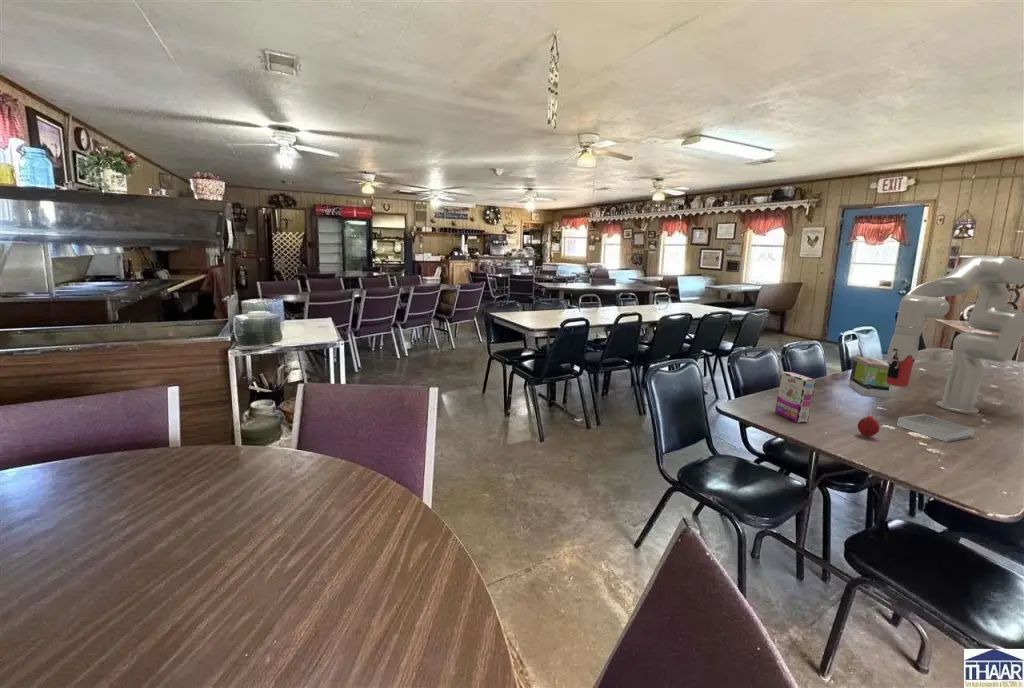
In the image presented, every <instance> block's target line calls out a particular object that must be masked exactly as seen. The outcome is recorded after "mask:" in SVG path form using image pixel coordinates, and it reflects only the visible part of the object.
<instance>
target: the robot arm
mask: <svg viewBox="0 0 1024 688" xmlns="http://www.w3.org/2000/svg"><path fill="white" fill-rule="evenodd" d="M976 284H977V287H978V291H979V293H978V296H977V299H976V301H975V304H974V306H973V309H972V310H971V313H970V316H969V318H968V326H969V327H970V328H971V329H974V330H979V331H982V332H990V333H995V334H999V336H995V335H990V334H983V333H979V332H970V331H968V332H963V333H962V332H961V333H959V334H957V335H956V336H955V337H954V339H953V343H952V359H951V365H950V368H949V369H950V370H949V372H948V376H947V379H946V384H945V387H944V393H943V396H942V400H938V401H936V406H937V407H939V408H941V409H944V410H948V411H951V412H955V413H962V414H970V415H974V414H978V413H979V408H977V407H975V405H976V404H979V400H978V399H977V398H978V393H979V389H980V386H981V382H982V379H983V375H984V370H985V368H984V364H983V362H982V361H981V360H986V361H990V362H996V363H1005V362H1009V361H1010V360H1011V359H1012V358H1013V357H1014V355H1015V353H1016V351H1017V349H1018V347H1019V345H1020V342H1021V341H1022V338H1023V335H1024V312H1023V311H1021V310H1018V309H1011V308H1010V309H1009V308H1006V307H1007V305H1008V303H1009V300H1010V298H1011V297H1010V295H1011V294H1010V292H1009V289H1008V288H1007V287H1006V286H1005V285H1016V286H1017V285H1019V286H1020V285H1024V260H1023V259H1018V258H1015V257H1009V256H999V255H998V256H996V255H974V256H973V255H972V256H971V257H968V258H966V259H965V260H963V261H962V262H961V263H960V264H958V266H956V267H955V268H954V269H952V270H951V271H950V272H949V273H948V274H947V275H945V276H943V277H940V278H939V277H938V278H936V279H932V280H930V281H927V282H924V283H922V284H921V283H920V284H919V285H917V286H915V287H914V288H912V289H911V290H909V292H908V293H906V294H905V295H903V297H902V299H901V300H900V302H899V305H898V306H899V308H898V313H897V316H896V323H895V328H894V333H893V335H892V337H891V339H890V341H889V346H888V350H887V354H886V360H887V361H886V362H887V363H888V364H889V365H888V367H889V369H888V374H887V377H890V378H894V379H897V377H898V373H899V368H898V367H899V365H900V363H901V362H902V361H904V360H905V359H906V358H907V356H912V358H913V365H912V367H913V366H914V363H915V361H916V359H917V358H918V351H919V346H920V337H921V334H922V331H923V330H922V329H923V325H924V321H925V318H929V319H930V318H931V319H937V318H938V319H939V318H942V317H944V316H946V314H947V313H949V311H950V308H951V305H950V303H949V301H948V300H946V299H944V297H945V298H946V297H953V296H958V295H963V294H965V293H967V292H968V291H969V290H971V289H972V288H973V287H974V286H975V285H976ZM894 358H898V360H896V359H894ZM894 361H896V362H897V363H895V362H894Z"/></svg>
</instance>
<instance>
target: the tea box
mask: <svg viewBox="0 0 1024 688" xmlns="http://www.w3.org/2000/svg"><path fill="white" fill-rule="evenodd" d="M853 358H854V359H853V362H852V367H851V372H850V377H849V381H848V382H849V383H848V387H850V388H851V389H852V390H854V391H856V392H857V393H858V394H860V395H862V396H866V397H874V398H875V397H876V398H884V399H887V398H888V396H889V392H890V388H891V387H890V386H891V385H890V384H888V383H887V382H886V379H887V374H888V369H889V367H888V365H889V364H888V361H885V360H882V359H880V358H876V357H875V358H874V357H867V356H866V357H865V356H854V357H853Z"/></svg>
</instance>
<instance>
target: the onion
mask: <svg viewBox="0 0 1024 688" xmlns="http://www.w3.org/2000/svg"><path fill="white" fill-rule="evenodd" d="M857 429H858V432H859V433H860V434H862V436H863V437H864V438H869V437H873V436H876V435H877V433H879V431H880V424H879V422H878V421H877V420H876V419H875V418H874V415H873V414H869V415H868V416H867V417H863V418H861V419H860V420H859V421H858V424H857Z"/></svg>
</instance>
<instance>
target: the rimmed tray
mask: <svg viewBox="0 0 1024 688" xmlns="http://www.w3.org/2000/svg"><path fill="white" fill-rule="evenodd" d="M896 426H898V427H899V428H900V427H901V428H904V429H905V430H909V431H912V432H916V433H918V434H919V435H924V436H927V437H930V438H933V439H936V440H938V441H941V440H942V441H941V442H944V443H951V442H956V441H961V440H965V439H971V438H973V437H974V435H975V428H973V427H970V426H966V425H962V424H960V423H955V422H953V421H950V420H946V419H943V418H941V417H940V418H939V417H935V416H932V415H929V414H926V413H920V414H913V415H908V416H902V417H898V418H897V423H896ZM970 437H971V438H970Z"/></svg>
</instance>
